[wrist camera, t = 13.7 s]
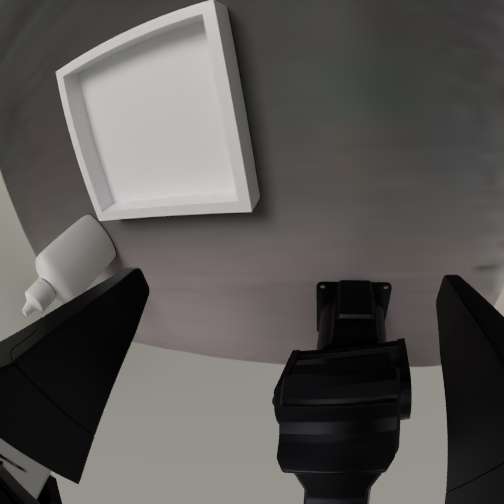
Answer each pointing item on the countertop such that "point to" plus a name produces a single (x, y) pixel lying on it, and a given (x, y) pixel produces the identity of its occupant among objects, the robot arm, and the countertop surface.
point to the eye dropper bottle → (70, 264)
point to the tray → (162, 119)
